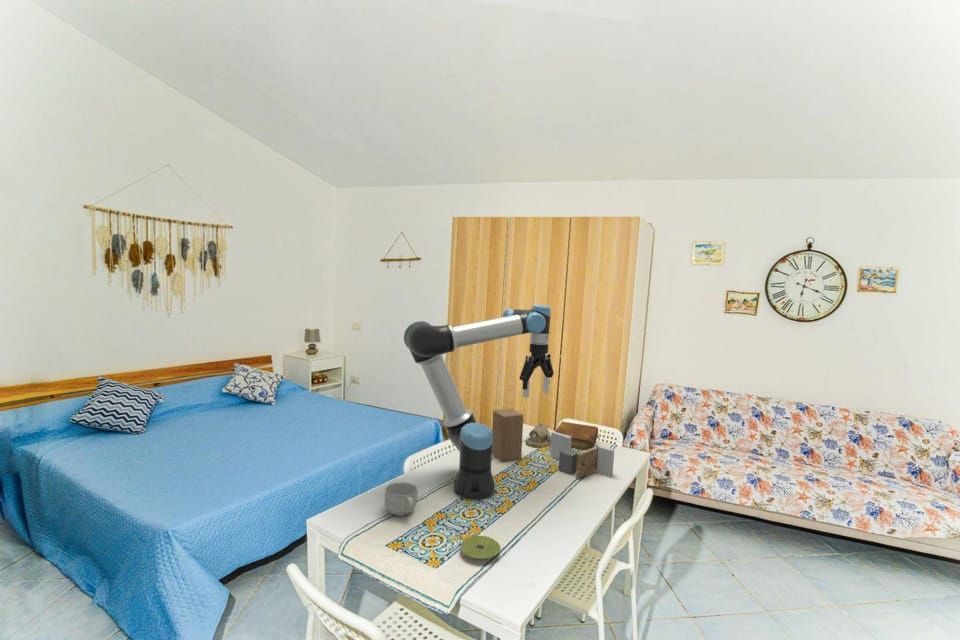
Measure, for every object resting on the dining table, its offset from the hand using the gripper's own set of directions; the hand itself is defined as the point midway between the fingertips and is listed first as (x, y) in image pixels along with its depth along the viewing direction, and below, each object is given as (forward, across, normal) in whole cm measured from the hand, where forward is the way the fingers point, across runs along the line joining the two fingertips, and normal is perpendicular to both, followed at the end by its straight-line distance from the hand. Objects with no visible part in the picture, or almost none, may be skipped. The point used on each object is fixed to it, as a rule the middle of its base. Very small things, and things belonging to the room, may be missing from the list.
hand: (535, 394), depth 188 cm
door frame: (+31, +18, -12) cm, 38 cm away
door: (+31, +12, -20) cm, 38 cm away
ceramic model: (+31, +27, +16) cm, 44 cm away
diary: (+31, +44, +6) cm, 55 cm away
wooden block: (+31, +2, +15) cm, 35 cm away
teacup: (+32, -62, +6) cm, 70 cm away
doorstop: (+31, +10, -12) cm, 35 cm away
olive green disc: (+32, -59, -26) cm, 72 cm away
